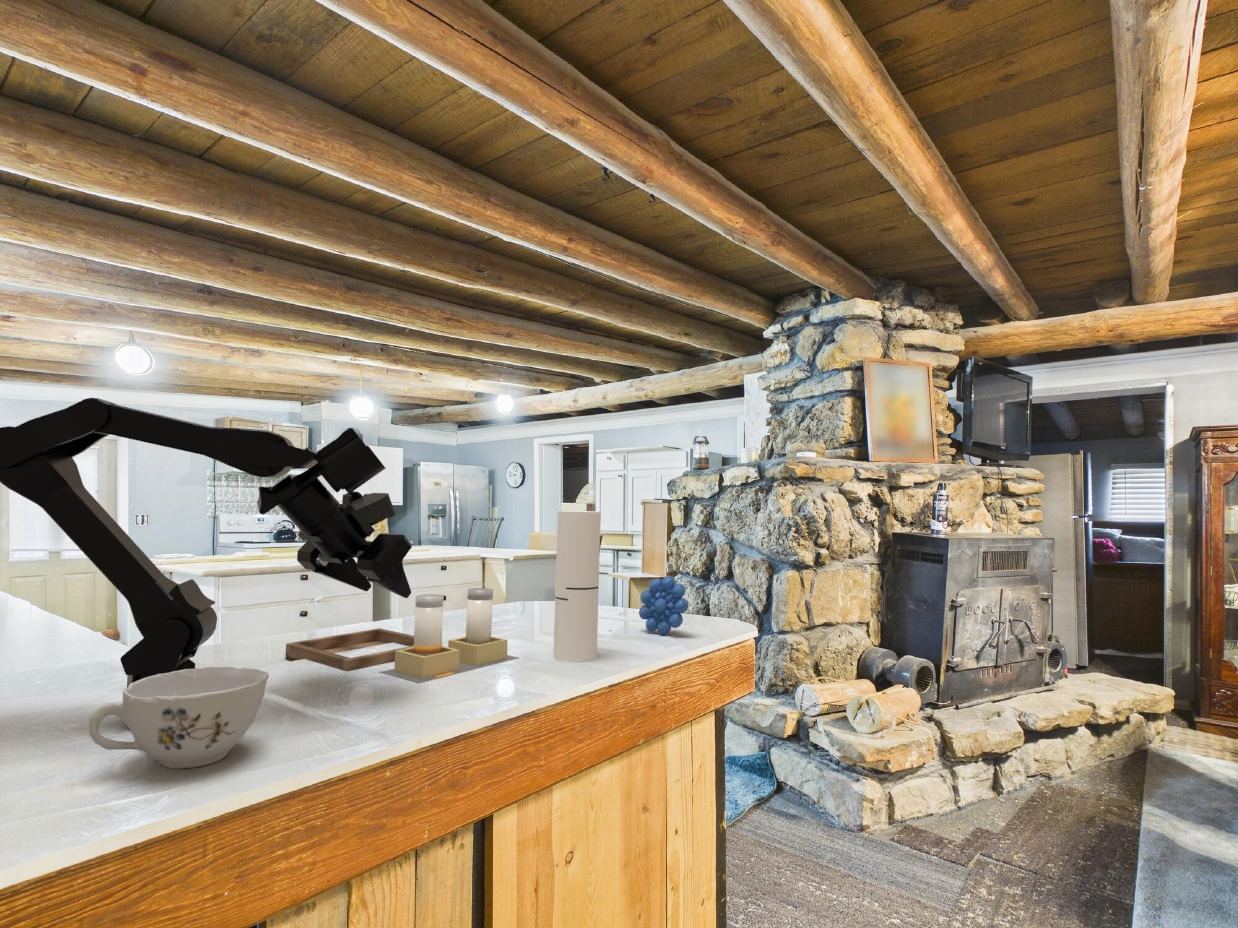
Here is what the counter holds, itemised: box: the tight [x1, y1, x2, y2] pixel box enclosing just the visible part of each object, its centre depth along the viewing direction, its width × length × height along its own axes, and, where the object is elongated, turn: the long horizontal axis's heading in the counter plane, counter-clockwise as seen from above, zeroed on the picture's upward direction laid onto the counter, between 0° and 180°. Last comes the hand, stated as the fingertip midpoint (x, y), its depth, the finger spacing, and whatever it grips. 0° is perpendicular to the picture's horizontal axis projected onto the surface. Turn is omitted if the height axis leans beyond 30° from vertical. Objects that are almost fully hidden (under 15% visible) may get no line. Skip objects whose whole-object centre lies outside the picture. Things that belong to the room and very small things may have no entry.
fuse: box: [465, 587, 494, 645], centre depth 109 cm, size 4×4×11 cm
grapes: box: [638, 575, 689, 636], centre depth 138 cm, size 12×7×12 cm, turn 53°
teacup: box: [88, 666, 270, 769], centre depth 68 cm, size 15×12×8 cm
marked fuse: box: [413, 593, 444, 656], centre depth 101 cm, size 4×4×11 cm
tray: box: [284, 628, 414, 672], centre depth 112 cm, size 17×17×2 cm
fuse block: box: [379, 635, 520, 684], centre depth 105 cm, size 20×9×4 cm, turn 144°
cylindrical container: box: [553, 510, 602, 664], centre depth 113 cm, size 7×7×25 cm
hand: (388, 591), depth 96 cm, fingers open, 9 cm apart
